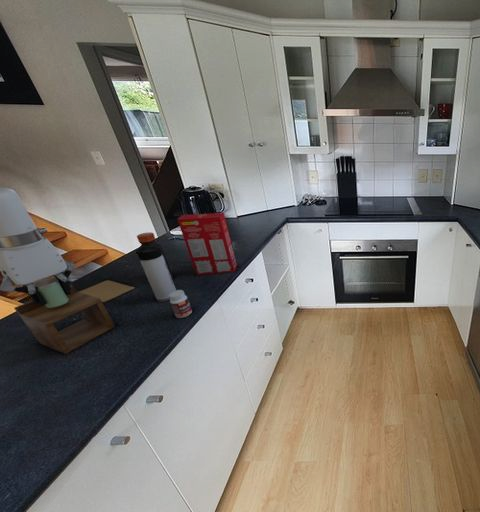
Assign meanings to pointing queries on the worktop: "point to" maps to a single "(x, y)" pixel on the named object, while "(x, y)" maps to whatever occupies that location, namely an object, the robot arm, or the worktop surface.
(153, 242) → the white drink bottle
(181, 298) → the pill bottle
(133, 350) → the worktop surface
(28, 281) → the robot arm
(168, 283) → the travel mug
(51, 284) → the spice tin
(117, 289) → the cork mat
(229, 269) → the food packaging
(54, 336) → the shelf unit
